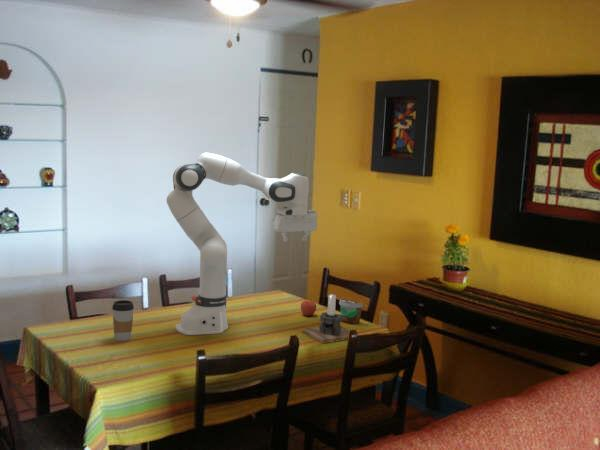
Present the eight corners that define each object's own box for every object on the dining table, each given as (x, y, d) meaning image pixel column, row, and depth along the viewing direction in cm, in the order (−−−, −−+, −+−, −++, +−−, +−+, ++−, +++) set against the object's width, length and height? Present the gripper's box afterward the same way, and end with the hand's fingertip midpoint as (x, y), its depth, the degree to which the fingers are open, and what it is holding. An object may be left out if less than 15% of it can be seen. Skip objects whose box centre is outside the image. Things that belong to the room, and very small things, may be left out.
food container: (332, 320, 317) (333, 299, 316) (340, 318, 322) (342, 297, 320) (353, 326, 309) (354, 305, 307) (361, 324, 313) (363, 302, 312)
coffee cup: (110, 336, 279) (110, 300, 276) (131, 335, 282) (132, 299, 280) (113, 343, 271) (113, 306, 269) (135, 341, 274) (135, 304, 272)
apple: (307, 312, 328) (308, 296, 327) (319, 316, 323) (320, 299, 322) (296, 315, 323) (297, 298, 322) (308, 318, 318) (309, 301, 317)
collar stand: (322, 343, 284) (323, 323, 282) (302, 332, 297) (303, 313, 296) (358, 338, 293) (359, 318, 292) (336, 327, 306) (338, 308, 305)
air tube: (328, 333, 293) (331, 296, 290) (324, 331, 295) (326, 294, 293) (335, 332, 294) (337, 295, 292) (331, 330, 297) (333, 293, 295)
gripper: (313, 209, 309) (311, 239, 311) (273, 209, 299) (271, 240, 301) (321, 211, 304) (318, 242, 306) (280, 211, 293) (278, 243, 296)
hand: (294, 241), depth 303 cm, fingers open, 8 cm apart
